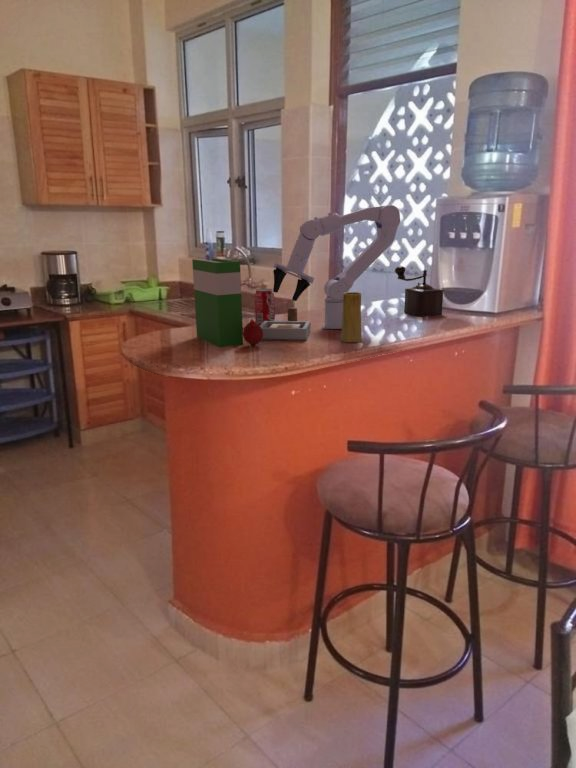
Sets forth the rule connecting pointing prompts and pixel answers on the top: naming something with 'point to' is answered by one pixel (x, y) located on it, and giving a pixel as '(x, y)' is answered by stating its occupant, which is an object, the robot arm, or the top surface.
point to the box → (286, 330)
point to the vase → (351, 317)
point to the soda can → (264, 305)
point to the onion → (253, 333)
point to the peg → (292, 314)
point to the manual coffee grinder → (421, 297)
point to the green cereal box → (218, 301)
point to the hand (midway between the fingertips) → (284, 296)
